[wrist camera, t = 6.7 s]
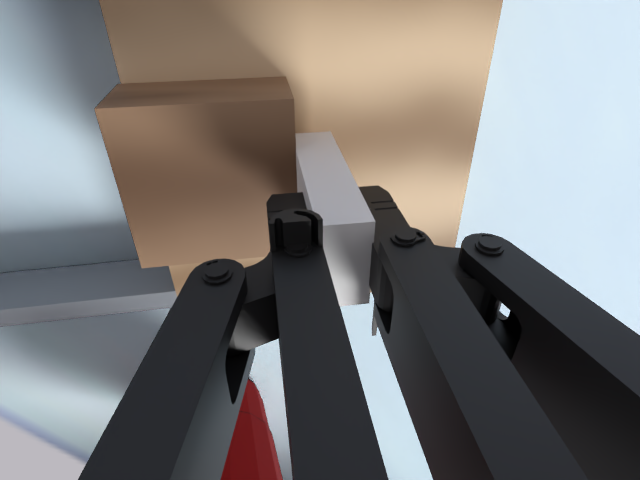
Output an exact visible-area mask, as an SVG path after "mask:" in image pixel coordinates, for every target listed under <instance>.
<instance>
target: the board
mask: <svg viewBox="0 0 640 480" xmlns="http://www.w3.org/2000/svg"><path fill="white" fill-rule="evenodd" d="M99 2H100V6H101V10H102V14H103V18H104V21H105V25H106V29H107V33H108V37H109V40H110V44H111V48H112V52H113V56H114V60H115V63H116V67H117V71H118V75H119V79H120V82H121V84H125V83H147V82H170V81H193V80H216V79H238V78H261V77H284V76H286V78H287V81H288V84H289V86H290V89H291V92H292V94H293V97H294V109H295V133H312V132H329V131H331V133H332V135H333V137H334V139H335V141H336V143H337V145H338V147H339V149H340V151H341V153H342V155H343V157H344V159H345V161H346V163H347V165H348V167H349V169H350V171H351V173H352V175H353V177H354V179H355V181H356V183H357V185H358V187H362V186H376V185H378V186H380V187H382V188H383V189H385V190H386V191H388V192H389V193H390V195H391V197H392V198H393V200H394V202H395V203H396V205H397V206H398V209H399V210H400V211H401V213H402V214H403V216H404V218H405V219H406V221H407V223H408V224H409V226H410V227H412V228H417V229H419V230H421V231H423V232H424V233H425V234H427V235H428V236H429V238H430V239H431V241H432V242H433V244H434V245H438V246H445V247H454V248H455V244H456V239H457V234H458V229H459V223H460V218H461V213H462V208H463V203H464V198H465V193H466V187H467V182H468V177H469V172H470V167H471V162H472V157H473V151H474V146H475V141H476V136H477V131H478V126H479V121H480V116H481V110H482V105H483V100H484V95H485V90H486V85H487V80H488V74H489V69H490V64H491V59H492V54H493V49H494V44H495V38H496V33H497V28H498V23H499V18H500V13H501V8H502V2H503V0H99ZM264 258H265V257H257V258H246V259H236V260H235V261H237V262H239V263H241V264H242V265H243V267H244V268H245V267H248V266H251V265H254V264H256V263H258V262H260V261H261V260H263V259H264ZM200 264H202V263H193V264H183V265H172V266H169V269H170V273H171V276H172V280H173V284H174V288H175V292H176V295H177V296H178V295H179V293H180V291H181V289H182V287H183V285H184V284H185V282H186V280H187V278H188V276H189V274H190V273H191V272H192V271H193V269H194V268H195V267H197V266H198V265H200ZM370 292H371V289H370Z"/></svg>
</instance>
